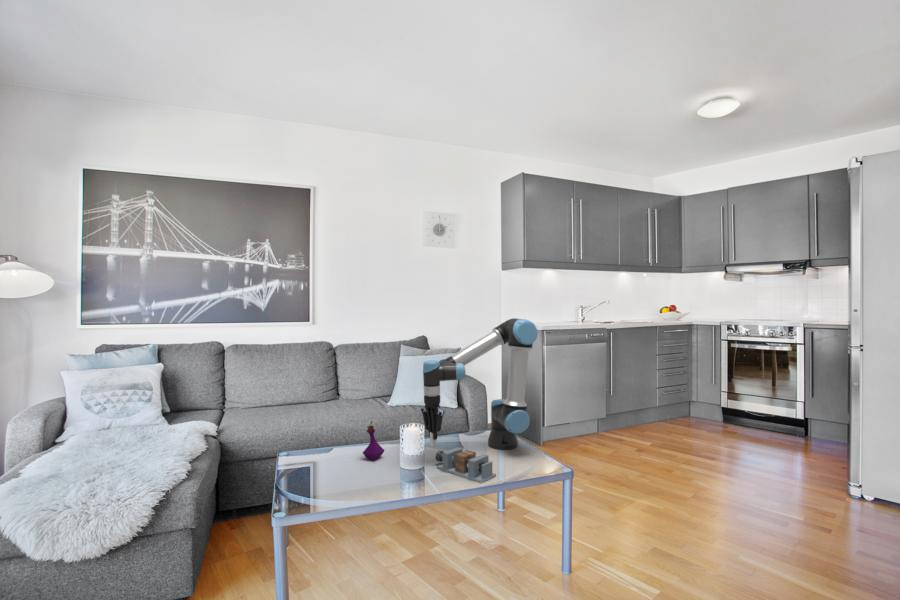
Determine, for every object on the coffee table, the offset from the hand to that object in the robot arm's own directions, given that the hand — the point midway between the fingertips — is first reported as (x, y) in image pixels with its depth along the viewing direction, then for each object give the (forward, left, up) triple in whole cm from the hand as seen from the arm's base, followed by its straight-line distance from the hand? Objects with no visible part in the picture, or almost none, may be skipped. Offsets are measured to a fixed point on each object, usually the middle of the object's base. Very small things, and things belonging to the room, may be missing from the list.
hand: (433, 445), depth 215 cm
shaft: (0, +15, -6) cm, 16 cm away
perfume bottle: (+15, -24, -7) cm, 30 cm away
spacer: (0, +20, -6) cm, 20 cm away
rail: (0, +20, -7) cm, 21 cm away
